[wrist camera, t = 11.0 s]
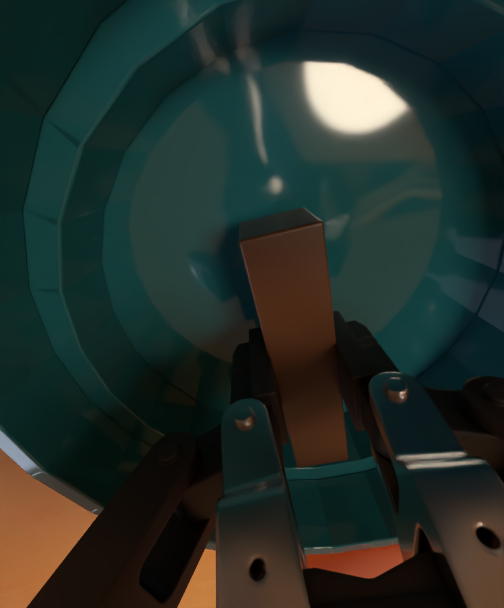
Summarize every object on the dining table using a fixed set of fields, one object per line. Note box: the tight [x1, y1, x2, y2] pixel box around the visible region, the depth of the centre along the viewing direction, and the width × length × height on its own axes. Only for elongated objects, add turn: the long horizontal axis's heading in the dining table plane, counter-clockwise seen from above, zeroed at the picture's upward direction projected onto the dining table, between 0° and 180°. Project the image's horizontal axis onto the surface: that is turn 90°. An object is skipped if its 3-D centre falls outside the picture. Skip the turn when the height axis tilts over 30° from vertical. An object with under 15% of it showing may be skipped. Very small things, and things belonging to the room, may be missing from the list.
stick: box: [239, 207, 349, 468], centre depth 10 cm, size 10×2×2 cm, turn 13°
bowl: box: [0, 0, 504, 554], centre depth 9 cm, size 19×19×6 cm
